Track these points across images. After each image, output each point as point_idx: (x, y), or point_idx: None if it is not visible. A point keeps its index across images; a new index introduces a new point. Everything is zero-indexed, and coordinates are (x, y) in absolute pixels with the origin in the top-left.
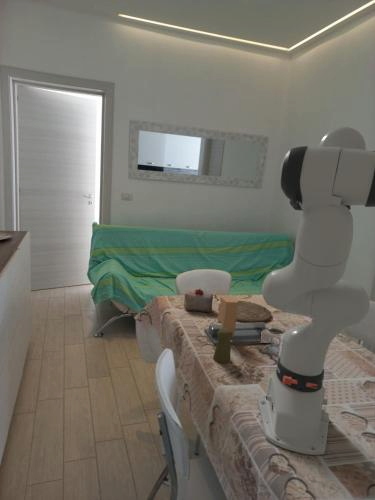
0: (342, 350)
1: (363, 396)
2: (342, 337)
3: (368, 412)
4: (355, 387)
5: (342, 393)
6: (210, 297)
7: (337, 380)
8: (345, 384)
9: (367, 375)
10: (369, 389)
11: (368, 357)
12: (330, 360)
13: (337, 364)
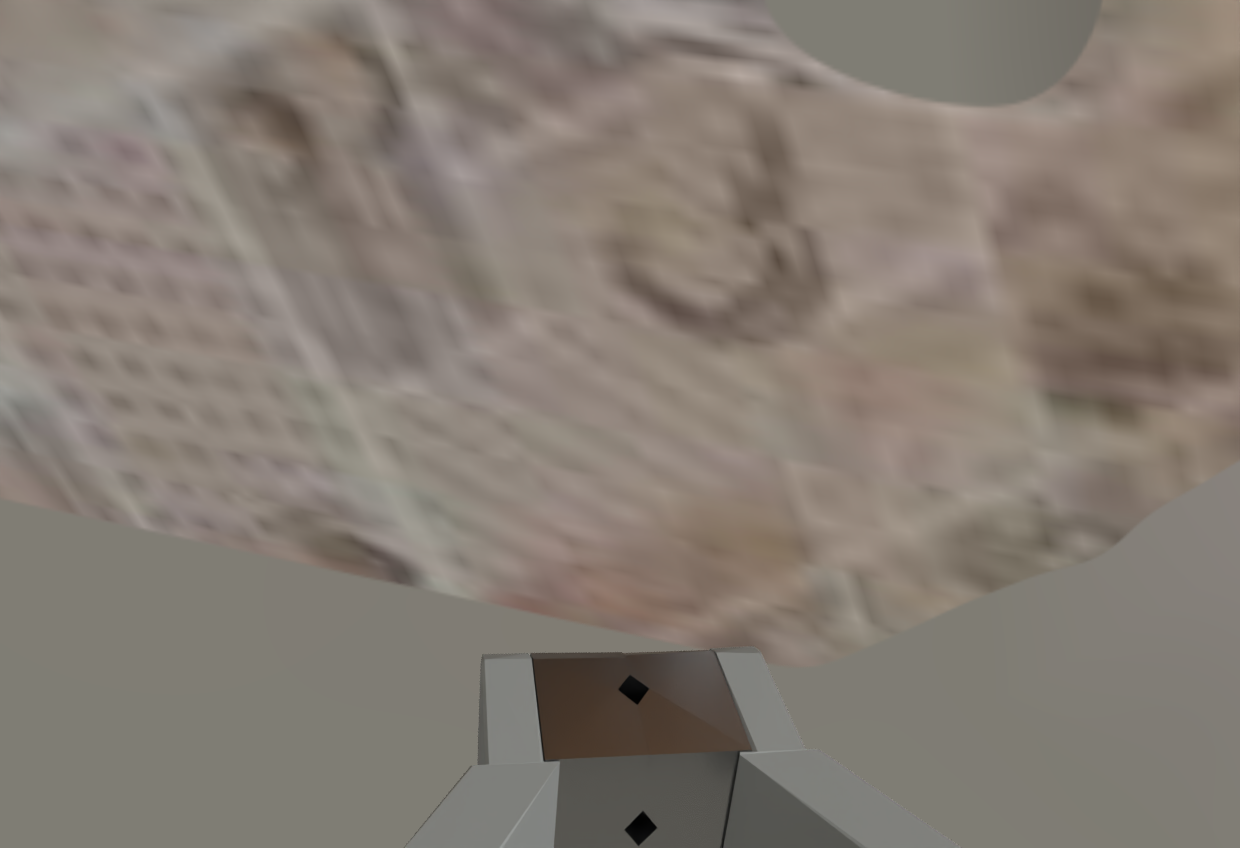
0: (802, 507)
1: (193, 505)
2: (1029, 550)
3: (16, 492)
4: (284, 483)
5: (160, 387)
6: None
7: (322, 388)
8: (292, 429)
9: (483, 587)
10: (301, 558)
11: None
12: (607, 394)
13: (562, 432)
